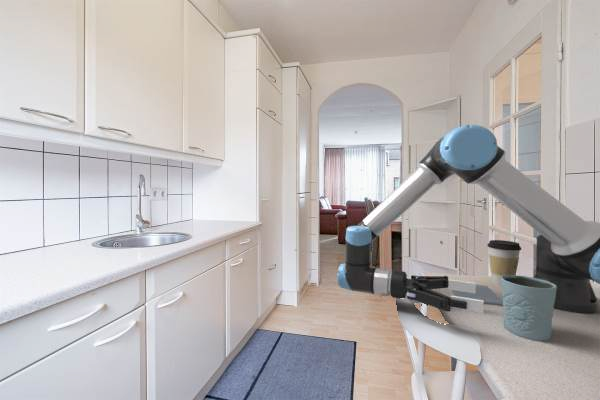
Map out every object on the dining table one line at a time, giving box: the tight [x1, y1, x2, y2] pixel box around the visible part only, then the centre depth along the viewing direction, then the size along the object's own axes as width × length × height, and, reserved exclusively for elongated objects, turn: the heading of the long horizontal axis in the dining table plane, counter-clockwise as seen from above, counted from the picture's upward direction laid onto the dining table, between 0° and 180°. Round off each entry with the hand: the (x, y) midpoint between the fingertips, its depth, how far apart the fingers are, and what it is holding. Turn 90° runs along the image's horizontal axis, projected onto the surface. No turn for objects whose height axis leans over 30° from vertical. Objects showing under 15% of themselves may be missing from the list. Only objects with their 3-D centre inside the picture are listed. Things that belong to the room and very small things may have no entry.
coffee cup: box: [487, 239, 522, 287], centre depth 97 cm, size 10×10×15 cm
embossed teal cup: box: [501, 274, 557, 342], centre depth 64 cm, size 10×10×12 cm
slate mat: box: [451, 284, 503, 307], centre depth 88 cm, size 12×16×1 cm
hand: (479, 296), depth 68 cm, fingers open, 13 cm apart
